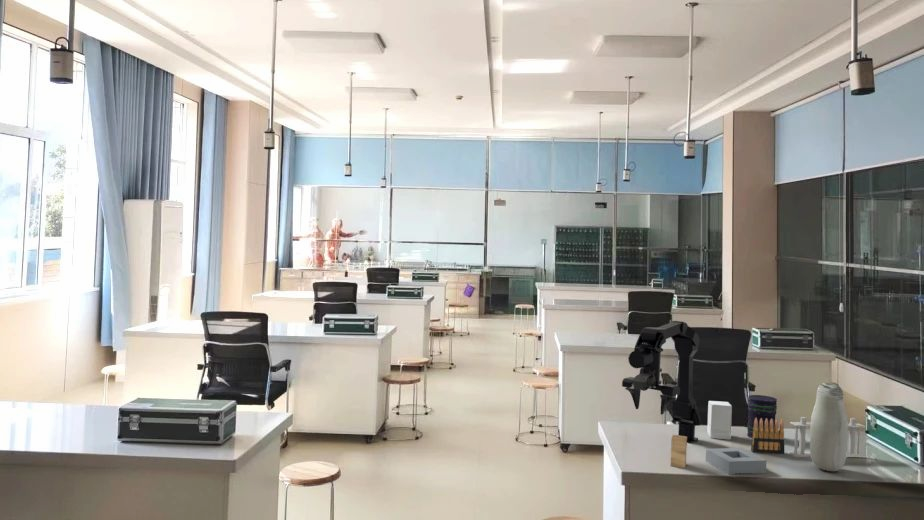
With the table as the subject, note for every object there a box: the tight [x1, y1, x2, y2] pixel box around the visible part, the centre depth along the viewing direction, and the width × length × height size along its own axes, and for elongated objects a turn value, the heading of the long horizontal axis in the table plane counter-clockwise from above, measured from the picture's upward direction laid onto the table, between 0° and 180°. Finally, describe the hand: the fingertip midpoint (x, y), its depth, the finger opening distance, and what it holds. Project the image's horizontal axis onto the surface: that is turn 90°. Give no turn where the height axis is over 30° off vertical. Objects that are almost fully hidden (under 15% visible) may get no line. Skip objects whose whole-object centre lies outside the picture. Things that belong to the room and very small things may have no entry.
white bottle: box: [809, 382, 849, 472], centre depth 213 cm, size 10×10×28 cm
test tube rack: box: [787, 416, 867, 458], centre depth 229 cm, size 25×4×13 cm, turn 93°
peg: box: [670, 434, 688, 469], centre depth 213 cm, size 4×4×9 cm
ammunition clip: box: [750, 418, 785, 455], centre depth 230 cm, size 11×2×12 cm, turn 87°
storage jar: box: [746, 394, 778, 439], centre depth 249 cm, size 10×10×15 cm
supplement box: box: [706, 400, 733, 441], centre depth 249 cm, size 7×7×13 cm
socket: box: [705, 447, 767, 475], centre depth 213 cm, size 13×13×4 cm
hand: (649, 411), depth 223 cm, fingers open, 9 cm apart
